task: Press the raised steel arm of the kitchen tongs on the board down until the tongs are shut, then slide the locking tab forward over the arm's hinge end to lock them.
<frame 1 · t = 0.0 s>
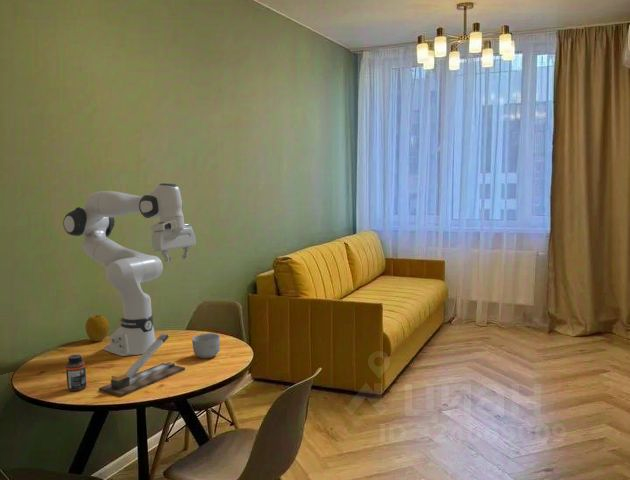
hand: (176, 260, 213), 39 cm above the table, tool pointing down, fingers open, 8 cm apart
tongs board: (124, 387, 185), on the table
tongs arm: (146, 355, 193), point 8 cm above the table, hinge at 28.0°
apple: (98, 341, 244), on the table
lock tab: (119, 376, 183), point 5 cm above the table, slide at 0.0 cm
teacup: (208, 355, 220), on the table
supplement bottle: (77, 389, 185), on the table
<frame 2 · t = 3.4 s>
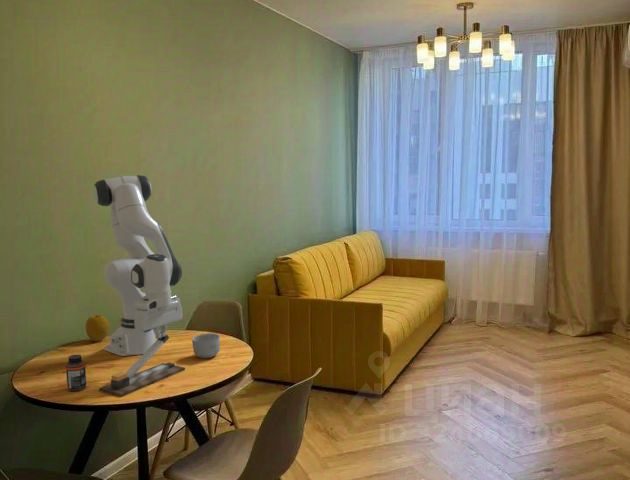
hand: (160, 337, 198), 13 cm above the table, tool pointing down, fingers closed
tongs arm: (146, 356, 193), point 8 cm above the table, hinge at 27.0°, touching gripper
everything else where it was.
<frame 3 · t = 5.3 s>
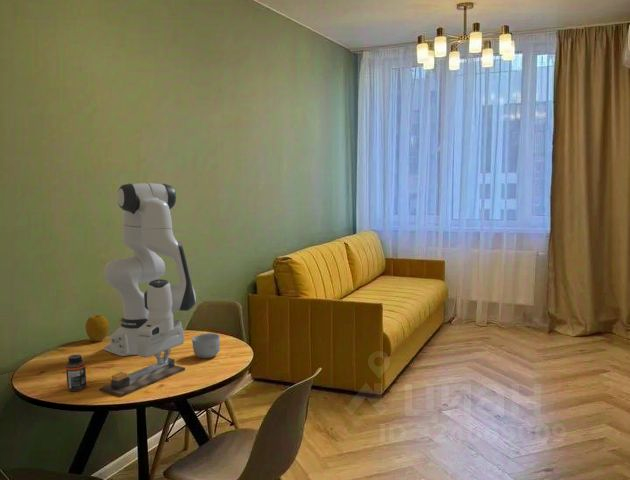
hand: (162, 362, 200), 4 cm above the table, tool pointing down, fingers closed, pressing on tongs arm
tongs arm: (150, 368, 195), point 3 cm above the table, hinge at 0.8°, touching gripper
everything else where it was.
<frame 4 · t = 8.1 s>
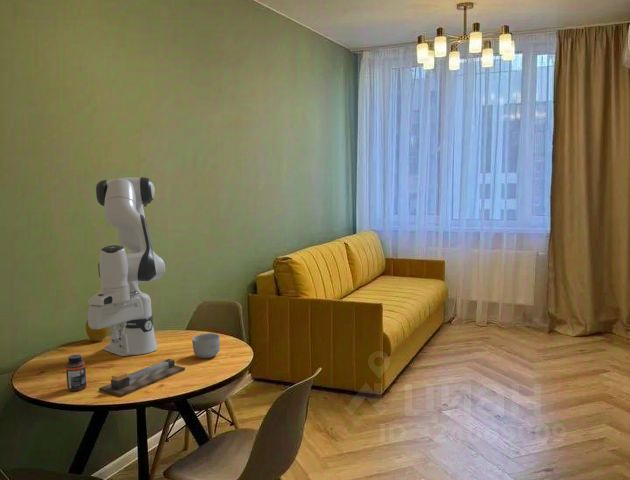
hand: (118, 336, 181), 18 cm above the table, tool pointing down, fingers closed
tongs arm: (150, 369, 195), point 3 cm above the table, hinge at -0.1°
everything else where it was.
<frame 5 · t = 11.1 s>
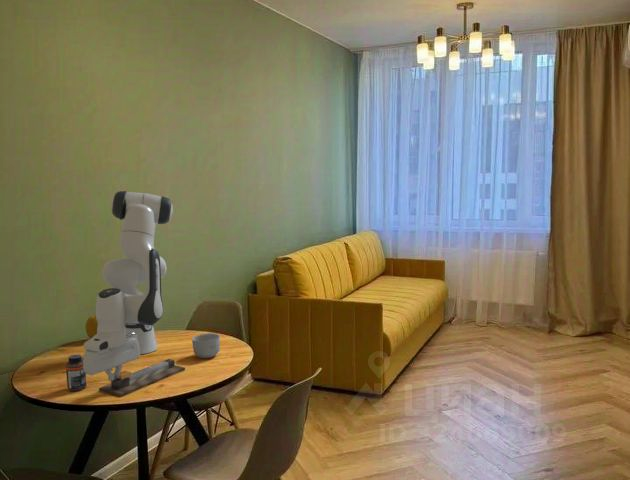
hand: (114, 379, 182), 4 cm above the table, tool pointing down, fingers closed
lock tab: (123, 374, 184), point 5 cm above the table, slide at 1.7 cm, touching gripper
everything else where it was.
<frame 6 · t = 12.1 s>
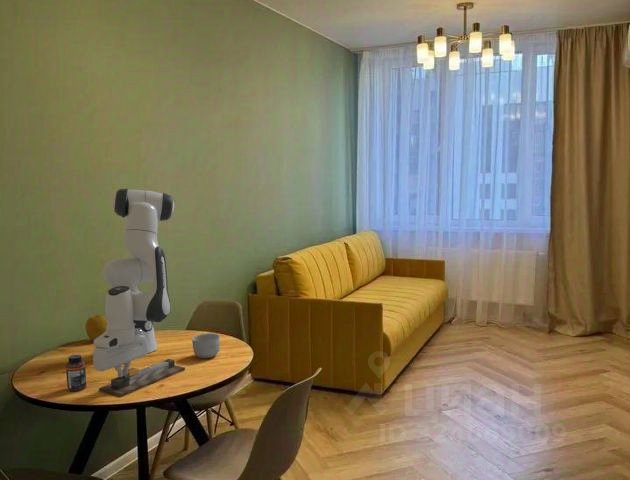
hand: (123, 375, 185), 4 cm above the table, tool pointing down, fingers closed
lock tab: (131, 371, 187), point 5 cm above the table, slide at 5.1 cm, touching gripper
everything else where it was.
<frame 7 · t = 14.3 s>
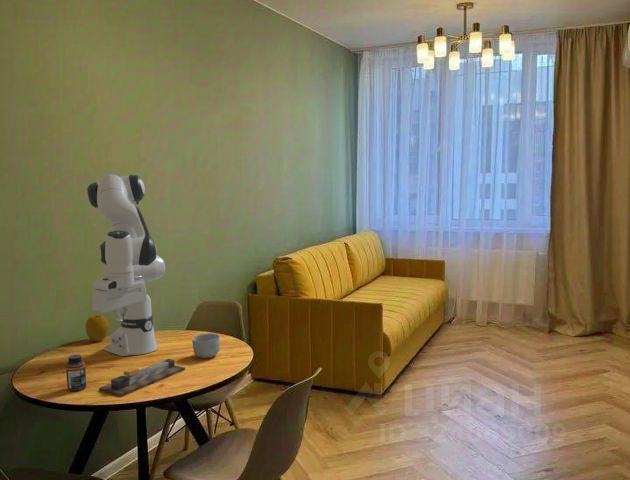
hand: (121, 320, 185), 23 cm above the table, tool pointing down, fingers closed
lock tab: (131, 371, 187), point 5 cm above the table, slide at 5.1 cm
everything else where it was.
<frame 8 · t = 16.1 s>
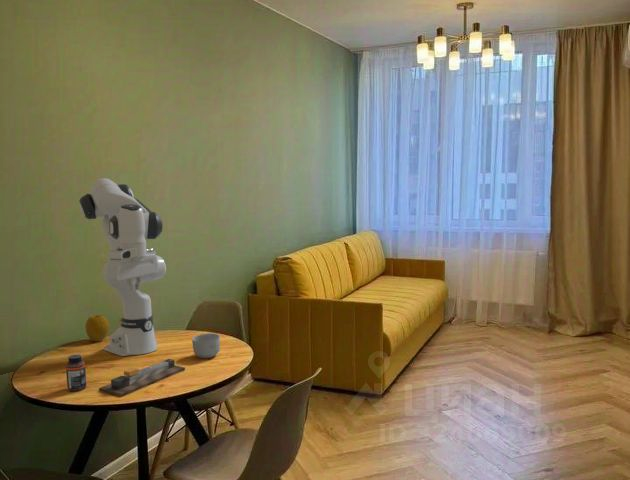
hand: (135, 290, 194), 31 cm above the table, tool pointing down, fingers closed
nothing on the table moved.
at the end: tongs arm at +0° (first picture: +28°); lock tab slide at 5.1 cm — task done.
